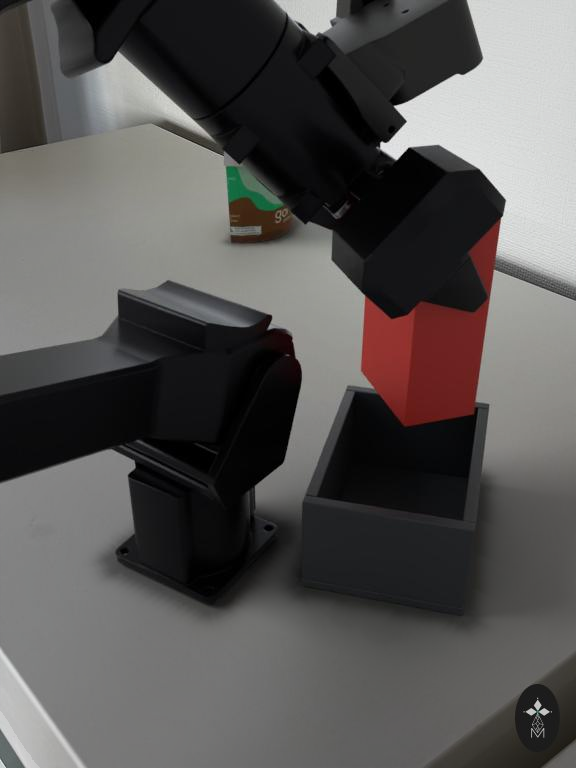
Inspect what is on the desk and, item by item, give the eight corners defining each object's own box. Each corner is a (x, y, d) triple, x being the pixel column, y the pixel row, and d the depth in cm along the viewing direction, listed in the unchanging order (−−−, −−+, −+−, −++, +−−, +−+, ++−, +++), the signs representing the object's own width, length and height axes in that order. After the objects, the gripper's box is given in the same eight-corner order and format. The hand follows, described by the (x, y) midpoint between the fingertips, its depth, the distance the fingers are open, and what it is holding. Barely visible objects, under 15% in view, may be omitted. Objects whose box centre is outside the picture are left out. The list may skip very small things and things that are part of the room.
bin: (462, 616, 43) (474, 530, 40) (301, 586, 45) (301, 502, 42) (478, 480, 52) (489, 403, 49) (344, 460, 54) (347, 384, 51)
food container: (290, 253, 82) (290, 147, 77) (226, 248, 83) (222, 143, 78) (313, 208, 92) (314, 112, 87) (256, 204, 93) (254, 109, 88)
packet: (404, 427, 44) (423, 222, 39) (360, 371, 49) (371, 181, 44) (474, 414, 46) (502, 213, 40) (424, 360, 50) (443, 174, 45)
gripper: (490, -81, 27) (696, 223, 35) (297, -104, 42) (474, 113, 51) (248, 192, 29) (499, 417, 37) (147, 76, 44) (342, 255, 53)
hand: (450, 278), depth 44 cm, fingers closed on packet, 6 cm apart
